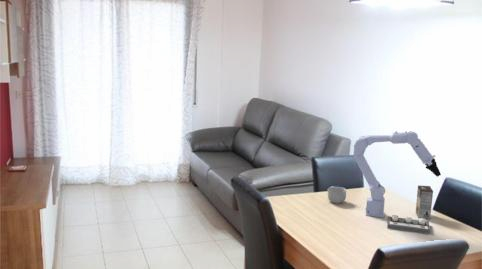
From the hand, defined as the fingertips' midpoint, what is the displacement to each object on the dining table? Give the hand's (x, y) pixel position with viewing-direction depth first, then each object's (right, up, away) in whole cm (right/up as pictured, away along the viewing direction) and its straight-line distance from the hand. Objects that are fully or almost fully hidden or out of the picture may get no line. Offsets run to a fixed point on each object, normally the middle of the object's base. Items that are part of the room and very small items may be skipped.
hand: (438, 174), depth 222 cm
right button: (-9, -25, -1) cm, 27 cm away
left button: (-21, -24, +3) cm, 32 cm away
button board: (-15, -27, 0) cm, 31 cm away
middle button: (-15, -25, +1) cm, 29 cm away
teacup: (-44, -20, +38) cm, 62 cm away
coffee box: (-1, -25, +16) cm, 29 cm away
